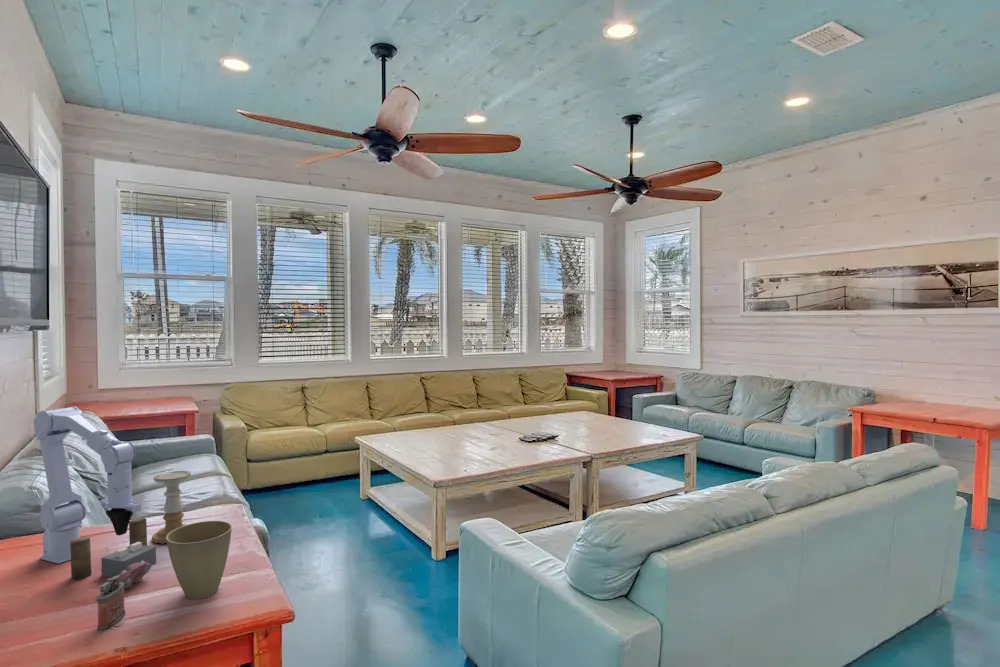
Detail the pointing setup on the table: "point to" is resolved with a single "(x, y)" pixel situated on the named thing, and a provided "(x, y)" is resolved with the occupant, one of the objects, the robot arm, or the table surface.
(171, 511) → the candle holder
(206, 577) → the plant pot
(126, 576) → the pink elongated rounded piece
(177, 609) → the table surface
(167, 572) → the table surface
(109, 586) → the lighter
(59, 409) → the robot arm
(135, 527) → the walnut post
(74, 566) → the walnut post
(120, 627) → the table surface
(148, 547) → the block
